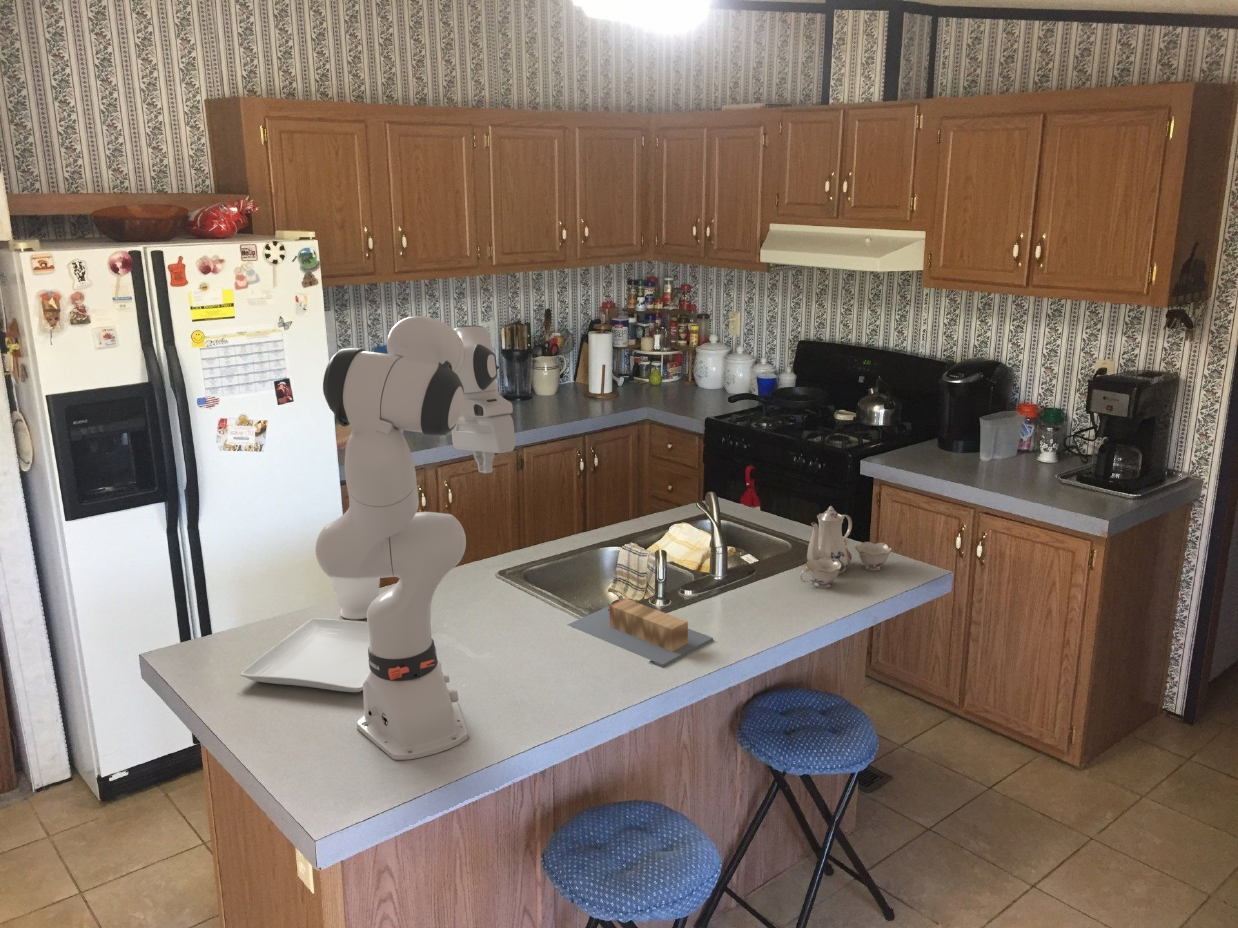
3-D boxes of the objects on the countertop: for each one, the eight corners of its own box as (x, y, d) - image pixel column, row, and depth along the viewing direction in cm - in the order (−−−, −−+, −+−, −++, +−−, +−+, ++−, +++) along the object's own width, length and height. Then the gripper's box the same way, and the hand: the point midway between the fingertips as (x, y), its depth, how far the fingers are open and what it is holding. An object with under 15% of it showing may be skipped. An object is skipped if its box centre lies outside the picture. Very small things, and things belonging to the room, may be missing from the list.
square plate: (425, 641, 219) (424, 625, 218) (363, 705, 193) (361, 686, 192) (313, 630, 226) (311, 614, 224) (239, 689, 200) (236, 672, 199)
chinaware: (826, 603, 235) (834, 538, 229) (772, 576, 247) (778, 513, 241) (898, 571, 252) (907, 510, 246) (844, 547, 264) (852, 488, 258)
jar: (389, 603, 237) (383, 543, 233) (374, 622, 227) (368, 560, 223) (345, 602, 238) (338, 542, 234) (328, 621, 229) (321, 559, 224)
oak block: (609, 605, 220) (671, 629, 208) (625, 598, 223) (687, 621, 211) (609, 626, 221) (672, 651, 209) (625, 619, 225) (687, 643, 213)
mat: (567, 627, 223) (567, 624, 223) (618, 604, 234) (617, 601, 234) (662, 667, 204) (662, 664, 204) (712, 640, 215) (712, 637, 215)
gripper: (440, 407, 214) (448, 471, 216) (489, 408, 198) (497, 478, 200) (467, 403, 218) (474, 466, 220) (517, 404, 202) (524, 473, 204)
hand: (485, 472), depth 210 cm, fingers closed
